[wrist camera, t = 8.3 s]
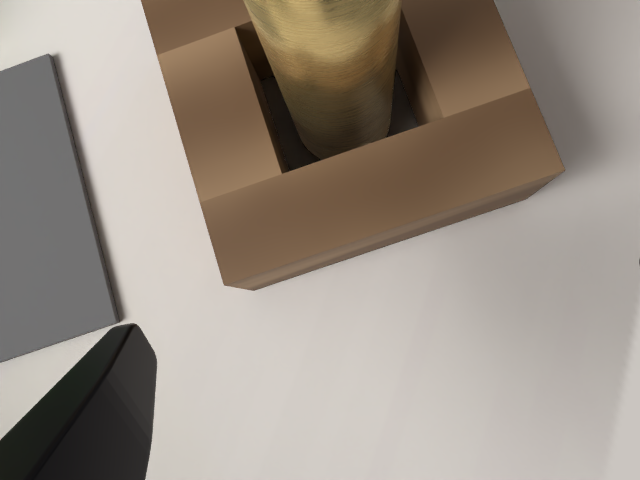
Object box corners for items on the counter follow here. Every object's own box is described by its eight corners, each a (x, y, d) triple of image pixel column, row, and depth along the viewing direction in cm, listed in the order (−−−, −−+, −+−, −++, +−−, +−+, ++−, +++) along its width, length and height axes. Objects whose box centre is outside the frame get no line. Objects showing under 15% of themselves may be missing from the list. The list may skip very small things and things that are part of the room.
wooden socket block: (526, 199, 19) (565, 170, 15) (253, 290, 20) (224, 285, 16) (426, -47, 21) (438, -129, 17) (179, 44, 22) (136, -16, 18)
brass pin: (379, 172, 20) (396, -220, 5) (286, 153, 21) (67, -253, 6) (399, 82, 21) (469, -511, 6) (308, 66, 21) (157, -519, 6)
